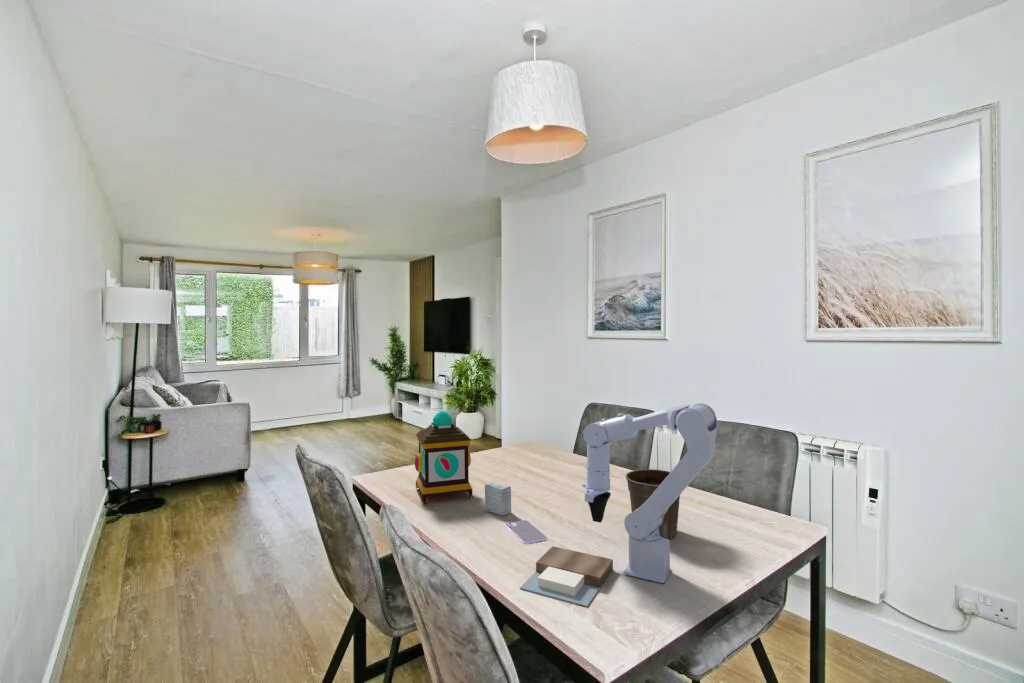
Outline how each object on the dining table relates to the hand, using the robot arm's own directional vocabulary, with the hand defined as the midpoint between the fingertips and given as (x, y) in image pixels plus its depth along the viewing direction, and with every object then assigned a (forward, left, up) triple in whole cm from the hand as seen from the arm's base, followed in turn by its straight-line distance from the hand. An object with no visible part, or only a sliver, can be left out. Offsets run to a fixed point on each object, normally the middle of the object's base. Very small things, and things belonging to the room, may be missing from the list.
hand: (597, 521), depth 128 cm
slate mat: (+3, +19, -9) cm, 21 cm away
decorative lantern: (+65, -22, -10) cm, 69 cm away
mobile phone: (+24, -6, -10) cm, 26 cm away
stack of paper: (+39, -16, -10) cm, 43 cm away
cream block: (+3, +18, -9) cm, 20 cm away
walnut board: (+3, +10, -9) cm, 14 cm away
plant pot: (-9, -23, -10) cm, 27 cm away
